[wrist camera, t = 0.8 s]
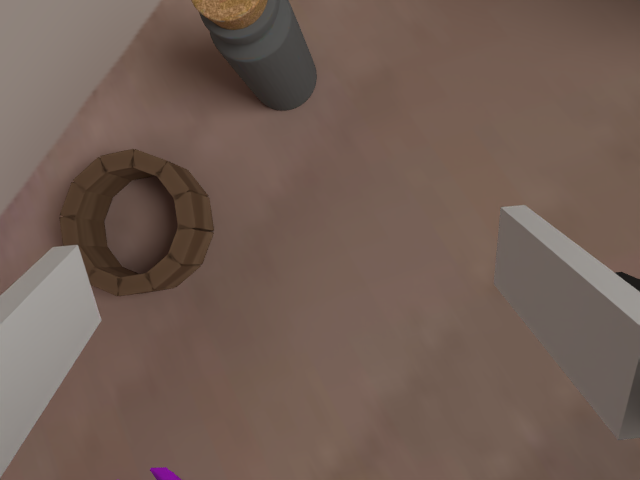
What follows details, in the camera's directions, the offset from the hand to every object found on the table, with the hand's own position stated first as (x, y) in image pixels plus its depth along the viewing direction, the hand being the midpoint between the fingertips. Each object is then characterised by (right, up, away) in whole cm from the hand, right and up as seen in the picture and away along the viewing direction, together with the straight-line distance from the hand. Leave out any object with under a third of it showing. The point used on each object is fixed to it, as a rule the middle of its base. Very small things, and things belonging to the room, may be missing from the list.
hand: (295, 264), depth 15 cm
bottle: (-2, +15, +27) cm, 32 cm away
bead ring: (-15, +2, +29) cm, 32 cm away
